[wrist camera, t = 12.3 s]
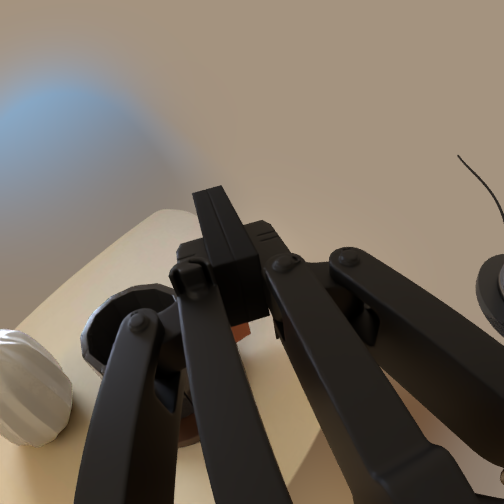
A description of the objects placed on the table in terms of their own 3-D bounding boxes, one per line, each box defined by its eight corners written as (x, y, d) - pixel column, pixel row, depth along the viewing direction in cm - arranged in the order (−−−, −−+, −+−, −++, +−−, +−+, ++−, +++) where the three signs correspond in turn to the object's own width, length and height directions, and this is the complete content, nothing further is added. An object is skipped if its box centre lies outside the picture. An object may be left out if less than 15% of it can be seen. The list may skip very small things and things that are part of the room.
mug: (139, 335, 36) (107, 280, 31) (251, 327, 35) (236, 264, 30) (115, 418, 26) (65, 369, 21) (252, 422, 25) (230, 372, 19)
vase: (60, 359, 35) (10, 293, 28) (102, 416, 28) (32, 345, 20) (5, 409, 27) (-54, 350, 20) (35, 477, 19) (-47, 421, 12)
